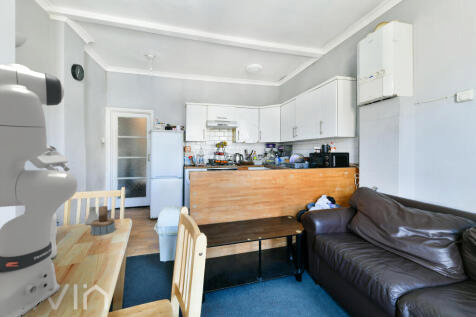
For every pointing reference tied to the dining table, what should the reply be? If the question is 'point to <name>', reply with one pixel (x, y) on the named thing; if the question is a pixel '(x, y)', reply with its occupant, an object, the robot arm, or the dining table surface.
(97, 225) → the walnut lid
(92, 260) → the dining table surface
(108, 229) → the slate-blue bowl
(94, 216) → the flask
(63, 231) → the dining table surface
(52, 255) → the water bottle
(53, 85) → the robot arm
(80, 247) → the dining table surface
